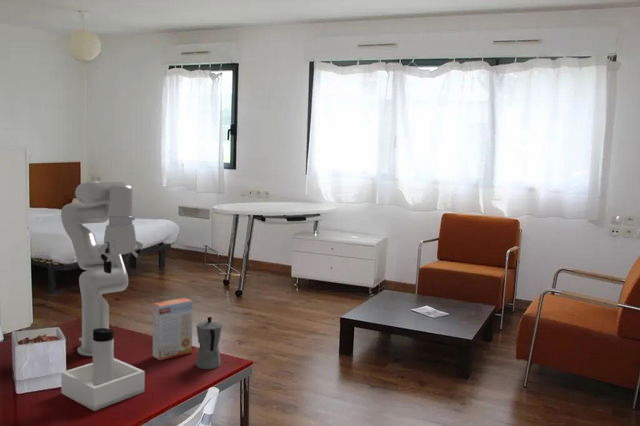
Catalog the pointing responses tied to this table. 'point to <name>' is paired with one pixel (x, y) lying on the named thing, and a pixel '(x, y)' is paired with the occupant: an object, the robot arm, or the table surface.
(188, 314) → the cracker box
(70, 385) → the bin
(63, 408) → the table surface
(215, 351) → the coffeepot
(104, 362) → the travel mug
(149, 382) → the table surface
